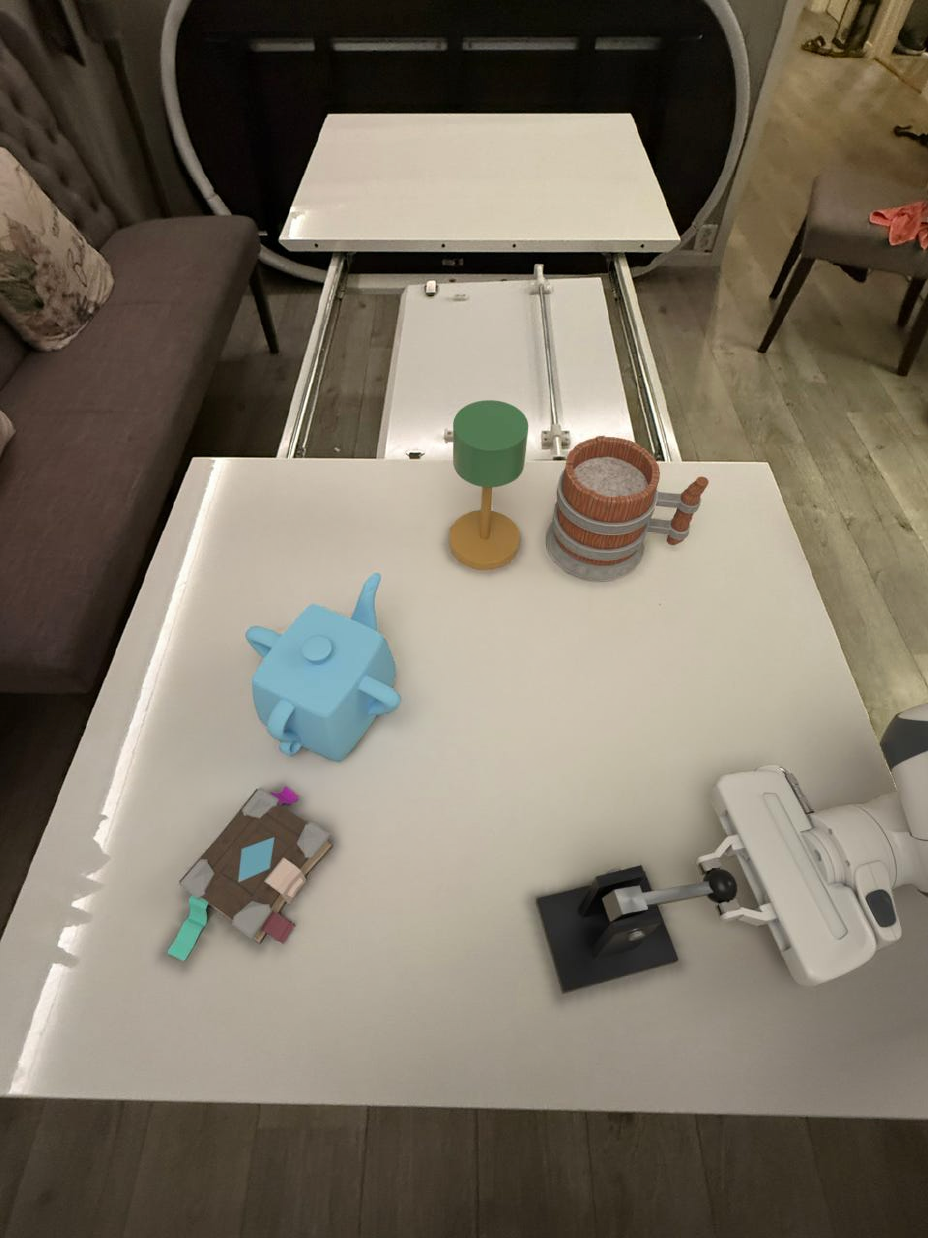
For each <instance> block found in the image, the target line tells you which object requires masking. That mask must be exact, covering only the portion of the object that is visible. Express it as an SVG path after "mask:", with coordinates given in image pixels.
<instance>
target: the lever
mask: <svg viewBox="0 0 928 1238" xmlns="http://www.w3.org/2000/svg"><path fill="white" fill-rule="evenodd" d="M738 887H739V886H738V882H737V880H736V878H735V877H734V875H733V874H732V873H731V872H729V871H728V870H726V869H723V868H720V869H712V870H710V871H709V872H707V873H706V875H703V879H702V881H701V882H695V883H689V884H684V885H683V884H682V885H679V886H673V887H668V888H662V889H656V890H652V891H650V892H645V893H642V891H641V888H640V886H639V885H637V886H631V887H626V888H620V889H614V890H613V891H611V892H610V893H609V894H607V895H606V896H604V897H603V898H602V900H603V903H604V906H605V909H606V912H607V915H608V918H609V920H610V922H615V921H618V920H622V919H626V918H630V917H633V916H637V915H641V914H642V913H644V912H645V911H647V910H648V907H651V906H656V905H658V906H661V905H666V904H672V903H677V902H682V901H687V900H692V899H697V898H703V897H706V898H707V899H708V900H710V901H711V902H713V903H715V904H717V905H718V904H720V903H722V902H729V901H730V900H733V899H736V896H737V894H738V890H739V889H738Z"/></svg>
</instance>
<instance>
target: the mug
mask: <svg viewBox="0 0 928 1238" xmlns="http://www.w3.org/2000/svg"><path fill="white" fill-rule="evenodd" d="M660 477H661V471H660V467H659V464H658V462H657V460H656V459H655V458H654V456H653V455H652V453H650V452H649V451H648V450H647V449H646V448H645V447H644V446H641V445H640V444H638V443H636V442H634V441H632V440H629V439H625V438H621V437H615V436H605V435H597V436H595V437H594V438H589V439H586V440H585V441H580V442H579V443H577V444H576V445H574V447H573V448H572V449H571V450H569V452H568V453H567V456H566V461H565V466H564V469H563V470H562V472H561V473H560V475H559V478H558V481H557V482H558V483H557V487H556V501H555V504H554V507H553V513H552V517H551V522H550V524H549V526H548V528H547V529H546V534H545V545H546V548H547V551H548V553H549V555H550V557H551V559H552V560H553V561H554V562H555V563H556V565H558V566H559V567H560V568H562V569H563V570H564V571H566V572H567V573H570V574H571V575H573V576H576V577H579V578H581V579H584V580H591V581H600V582H601V581H611V580H616V579H619V578H622V577H624V576H626V575H628V574H630V573H631V572H633V571H634V570H635V569H636V568H637V567H638V566H639V564H640V563H641V561H642V559H643V556H644V554H645V553H644V552H645V543H644V542H645V539H646V537H647V533H649V534H650V533H651V534H660V535H667V536H666V542H667V544H668V545H670V546H676V545H678V544H680V543H682V542H684V540H685V539H687V538H688V537H689V534H690V530H691V522H692V520H693V516H694V515H695V513H696V512H697V511H698V510H699V509H700V507H701V502H702V498H701V495H702V494H703V493H704V492H705V490H706V488H707V487H708V486H709V484H710V481H709V479H708V478H707V477H706V476H698V477H696V479H695V481H693V482H692V483H691V484H689V485H688V486H687V488H686V489H684V490H683V491H682V492H680V493H675V492H666V491H658V485H659V483H660V480H661V479H660ZM656 507H660V508H661V507H662V508H670V509H671V508H672V509H676V510H675V513H674V514H673V517H672V518H671V519H661V518H652V517H653V514H654V512H655V510H656Z"/></svg>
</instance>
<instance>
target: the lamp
mask: <svg viewBox="0 0 928 1238" xmlns="http://www.w3.org/2000/svg"><path fill="white" fill-rule="evenodd" d="M528 435H529V421H528V419H527V417H526V415H525V414H524V413H523V411H521V409H519V408H518V407H516V406H515V405H513V404H511V403H508V402H505V401H501V400H494V399H493V400H492V399H487V400H486V399H485V400H479V401H474V402H471V403H469V404H467V405H465V406H463V407H462V408H460V409H459V411H458V412H457V413H456V414H455V416H454V418H453V422H452V465H453V468H454V471H455V473H456V474H457V475H458V476H459V477H460V478H461V479H462V480H463V481H465V482H466V483H469V484H470V485H473V486H477V487H481V497H480V498H481V501H480V502H481V503H480V510H473V511H470V512H466V513H464V514H463V515H461V516H460V517H458V518H457V519H456V520H455V521H454V522H453V524H452V525H451V528H450V530H449V534H448V535H449V549H450V551H451V553H452V555H453V556H454V558H455V559H456V560H457V561H458V562H459V563H461V564H462V565H464V566H465V567H467V568H471V569H474V570H479V571H491V570H497V569H501V568H503V567H505V566H506V565H508V564H509V563H511V562H512V561H513V560H514V559H515V557H517V554H518V552H519V549H520V543H521V534H520V531H519V530H520V529H519V527H518V526H517V525H516V522H514V521H513V520H512V519H511V518H510V517H508V516H507V515H505V514H503V513H501V512H499V511H494V510H492V505H493V504H492V503H493V491H494V489H493V488H499V487H502V486H503V487H504V486H506V485H509V484H511V483H512V482H514V481H516V480H517V479H518V478H519V477H520V476H521V475H522V473H523V471H524V469H525V462H526V453H527V444H528Z"/></svg>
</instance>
